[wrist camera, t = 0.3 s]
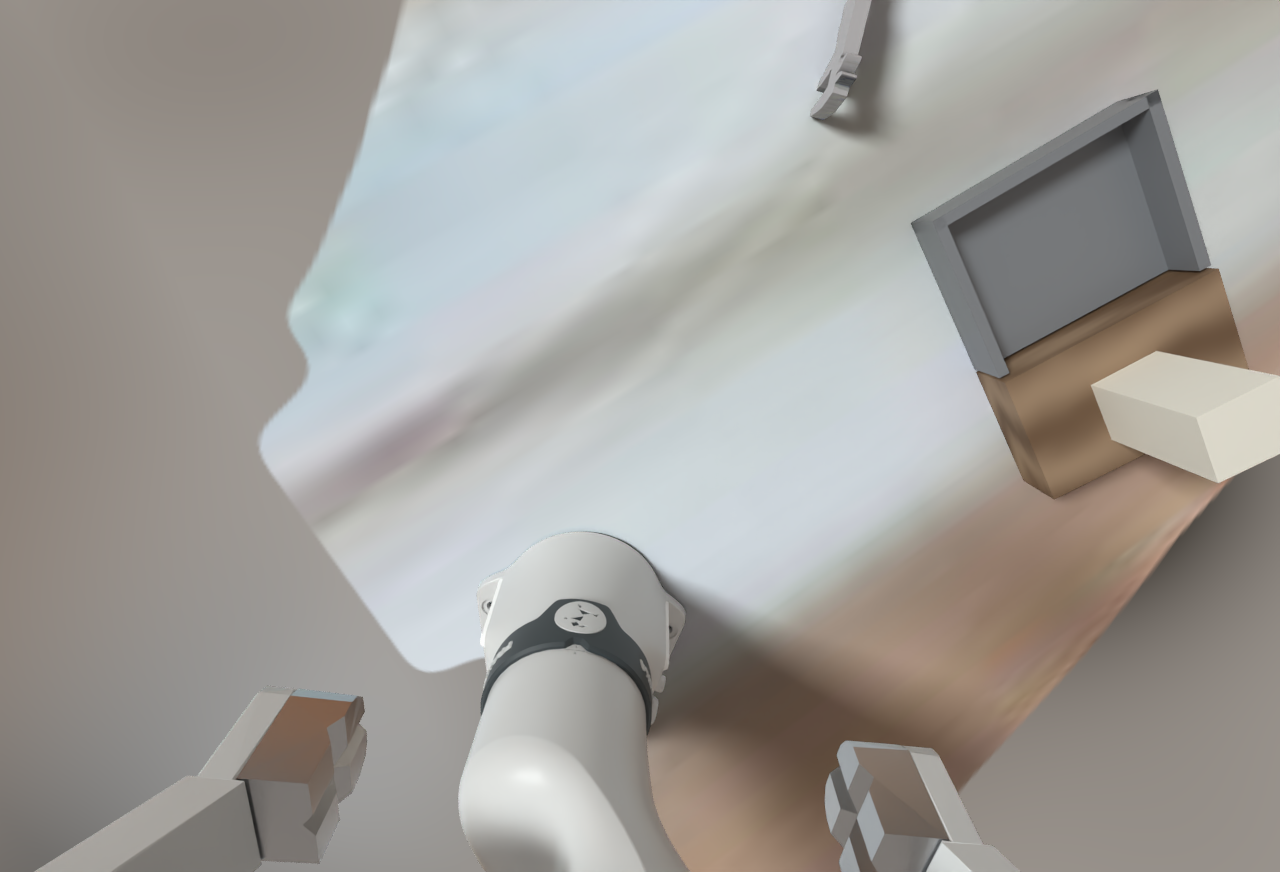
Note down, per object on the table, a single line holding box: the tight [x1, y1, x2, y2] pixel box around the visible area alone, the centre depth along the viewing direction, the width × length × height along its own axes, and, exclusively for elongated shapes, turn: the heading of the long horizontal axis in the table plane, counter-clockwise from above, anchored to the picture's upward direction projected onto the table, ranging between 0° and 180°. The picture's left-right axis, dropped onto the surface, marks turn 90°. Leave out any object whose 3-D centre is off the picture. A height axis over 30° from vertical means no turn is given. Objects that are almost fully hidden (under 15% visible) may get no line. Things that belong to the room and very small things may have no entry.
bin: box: [911, 90, 1211, 378], centre depth 45 cm, size 13×16×4 cm
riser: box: [976, 268, 1249, 499], centre depth 48 cm, size 11×16×4 cm
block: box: [1091, 351, 1280, 483], centre depth 42 cm, size 5×5×9 cm
